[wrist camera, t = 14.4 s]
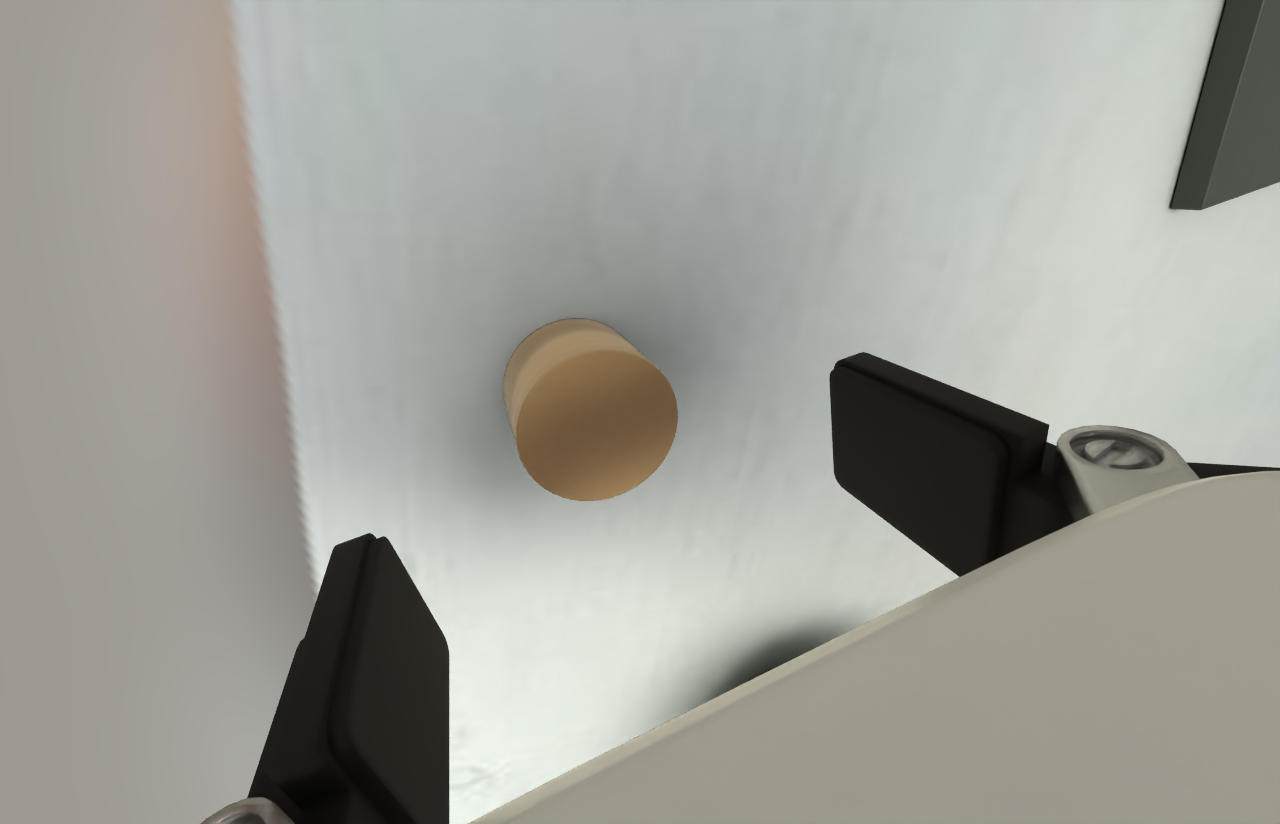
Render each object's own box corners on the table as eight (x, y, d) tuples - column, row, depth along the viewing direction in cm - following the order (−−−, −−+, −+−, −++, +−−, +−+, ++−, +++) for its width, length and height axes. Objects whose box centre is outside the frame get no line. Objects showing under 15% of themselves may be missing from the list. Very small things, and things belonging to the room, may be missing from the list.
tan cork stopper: (481, 343, 13) (490, 383, 11) (622, 300, 14) (662, 326, 12) (528, 466, 15) (545, 525, 13) (651, 421, 16) (690, 468, 14)
